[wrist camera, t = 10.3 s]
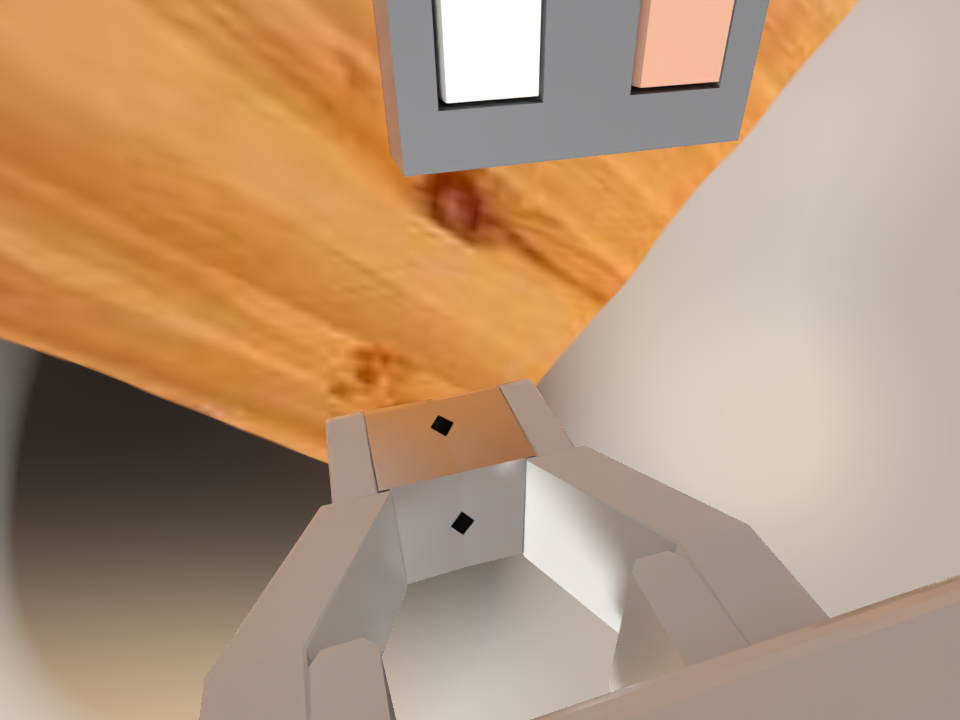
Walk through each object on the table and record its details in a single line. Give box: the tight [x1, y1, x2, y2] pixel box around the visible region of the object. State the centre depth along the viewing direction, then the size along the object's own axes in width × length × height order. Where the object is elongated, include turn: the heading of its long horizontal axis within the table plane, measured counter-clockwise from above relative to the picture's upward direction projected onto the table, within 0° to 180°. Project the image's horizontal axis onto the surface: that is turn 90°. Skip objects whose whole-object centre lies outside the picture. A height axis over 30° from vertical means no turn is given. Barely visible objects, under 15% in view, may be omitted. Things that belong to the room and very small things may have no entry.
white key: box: [431, 0, 541, 103], centre depth 29 cm, size 5×5×3 cm
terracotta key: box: [631, 0, 734, 88], centre depth 31 cm, size 5×5×3 cm
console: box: [373, 0, 769, 177], centre depth 31 cm, size 12×21×5 cm, turn 92°
